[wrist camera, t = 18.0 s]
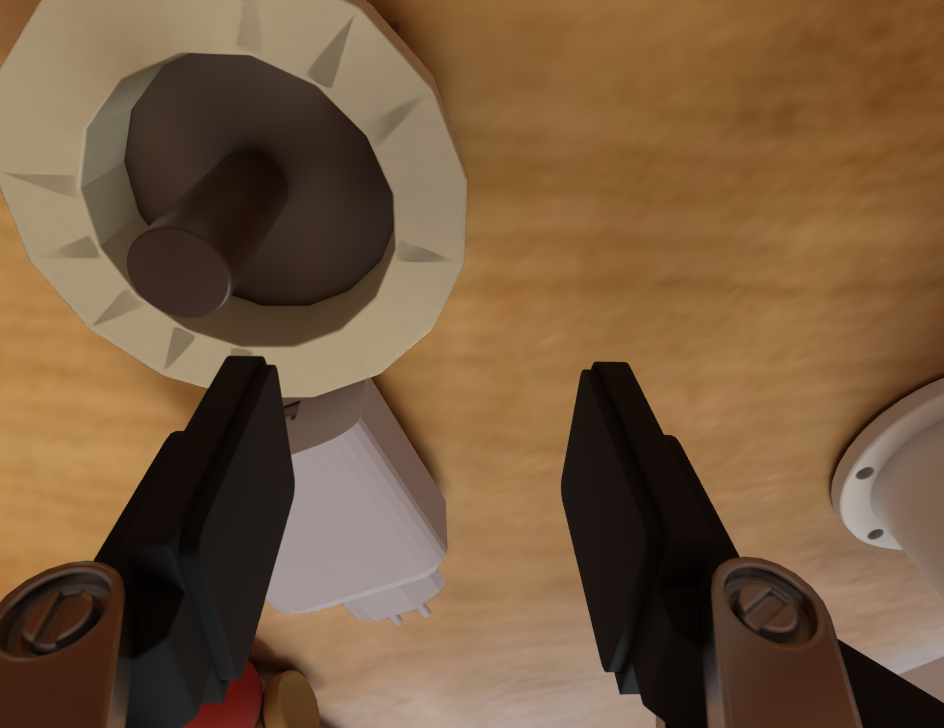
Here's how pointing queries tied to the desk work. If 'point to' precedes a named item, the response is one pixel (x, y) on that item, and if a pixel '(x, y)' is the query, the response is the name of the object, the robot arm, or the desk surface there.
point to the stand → (249, 189)
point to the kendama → (262, 704)
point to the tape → (119, 223)
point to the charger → (357, 511)
